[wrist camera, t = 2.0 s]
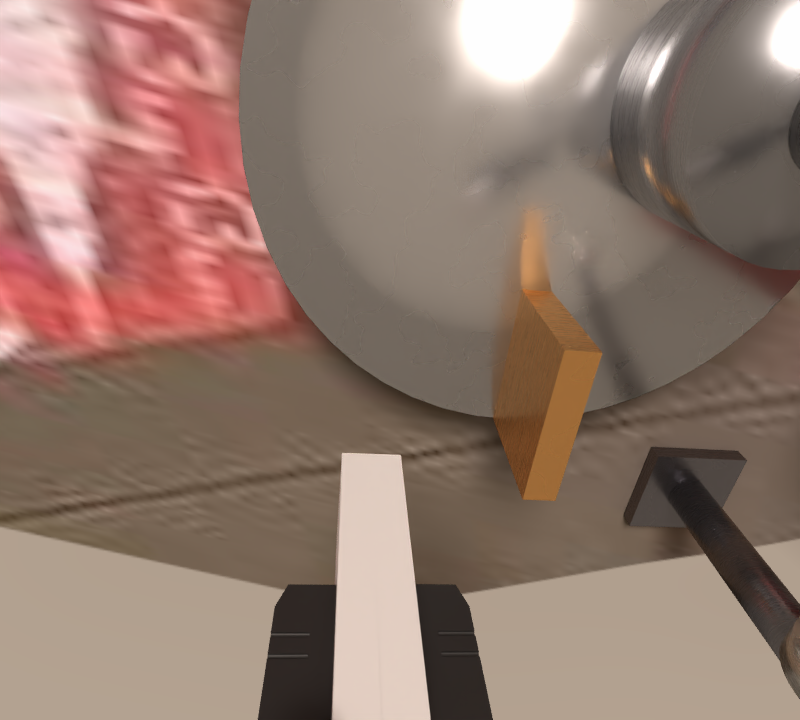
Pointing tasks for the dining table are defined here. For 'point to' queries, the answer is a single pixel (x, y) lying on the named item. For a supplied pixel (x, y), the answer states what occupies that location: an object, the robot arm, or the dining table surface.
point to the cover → (716, 124)
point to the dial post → (719, 538)
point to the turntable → (479, 210)
